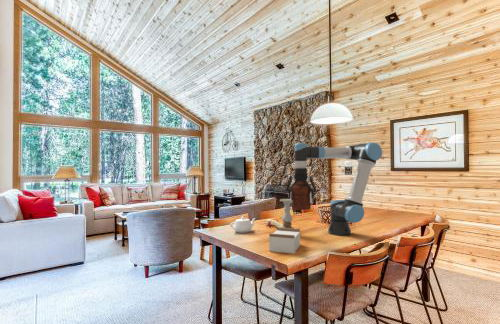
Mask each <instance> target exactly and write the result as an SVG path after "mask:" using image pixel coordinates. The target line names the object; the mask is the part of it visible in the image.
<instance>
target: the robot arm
mask: <svg viewBox="0 0 500 324" xmlns="http://www.w3.org/2000/svg"><path fill="white" fill-rule="evenodd" d="M293 150H294V151H293V152H294V175H290V176H289V180H288V183H287V186H286V188H285V191H286V192H288V197H289V199H290V203H291V204H292V202H293V200H292V199H291V188H292V186H293V185H295V183H297V182H298V181H303V182H304V183H305V184H306V185H307V187H308V188H309V190H310V191H311V192H310V203H311V204H313V198H314V196H315V195H314V194H315V192H317V187H316V185H315V183H314V181H313V176H312V175H310V176H308V169H307V167H308V161H307V160H311V159H312V160H314V159H315V160H316V159H346V160H355V161H357V163H358V164H357V168H356V171H355V174H354V177H353V180H352V183H351V186H350V190H349V192H348V193H349V194H348V195H347V197H345V199H336V200H335V199H334V200H331V201H330V203H329V206H330V210H329V211H330V223H329V226H328V230H327V232H328V234H330V235H334V236H350V235H351V234H352V230H351V226H350V224H349V223H359V222H361V221H362V220H363V218H364V216H365V210H364V208H363V206H364V203H363V199H364V195H365V191H366V188H367V185H368V182H369V178H370V174H371V172H372V168H373V166H375V165H376V163H377V161H379V160H380V159H381V158H382V156H383V148H382V147H381V145H379V143H377V142H366V143H365V142H364V143H359V144H354V145H346V146H345V147H344V146H343V147H340V146H339V147H324V146H308V144H307V143H306V142H297V143H295V144H294V149H293ZM293 180H294V182H293V183H292V181H293ZM308 180H309V182H310V184H311V185H310V184H309V182H308ZM291 184H292V185H291Z"/></svg>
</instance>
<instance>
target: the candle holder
mask: <svg viewBox="0 0 500 324" xmlns="http://www.w3.org/2000/svg"><path fill="white" fill-rule="evenodd" d="M279 202H283V205H284V207H283V208H282V209H283V211H284V214H283V215H282V217H281V219H282V222H283V221H284V222H283V223H282V224H283V225H284V226H283V227H282V228H293V229H295V227H293V226H292V225H293V224H292V221H293V216H292V214H291V213H290V212H291V210H292V207H291V205H292V203H290V198H280V199H279Z"/></svg>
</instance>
